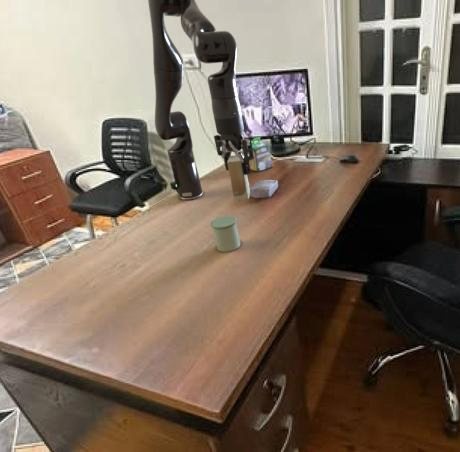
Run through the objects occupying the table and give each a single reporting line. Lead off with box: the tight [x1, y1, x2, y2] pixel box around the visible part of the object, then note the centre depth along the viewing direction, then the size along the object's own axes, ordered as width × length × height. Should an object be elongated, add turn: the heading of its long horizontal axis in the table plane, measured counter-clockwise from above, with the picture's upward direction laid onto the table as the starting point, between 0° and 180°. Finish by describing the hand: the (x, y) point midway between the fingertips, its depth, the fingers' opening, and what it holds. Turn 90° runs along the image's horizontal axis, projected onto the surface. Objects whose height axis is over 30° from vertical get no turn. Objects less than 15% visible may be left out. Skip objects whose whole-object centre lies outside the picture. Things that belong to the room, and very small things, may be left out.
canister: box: [210, 215, 241, 253], centre depth 104 cm, size 7×7×8 cm
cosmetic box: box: [227, 154, 251, 201], centre depth 104 cm, size 6×4×12 cm
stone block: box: [249, 179, 279, 199], centre depth 142 cm, size 12×5×10 cm
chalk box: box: [248, 136, 273, 173], centre depth 167 cm, size 9×9×15 cm
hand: (238, 171), depth 103 cm, fingers closed on cosmetic box, 7 cm apart
